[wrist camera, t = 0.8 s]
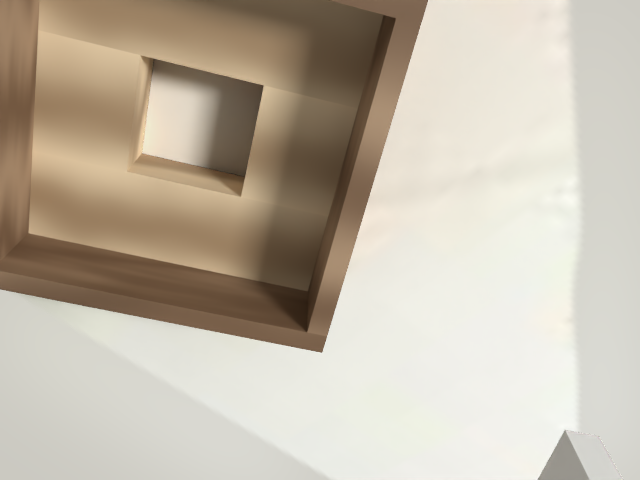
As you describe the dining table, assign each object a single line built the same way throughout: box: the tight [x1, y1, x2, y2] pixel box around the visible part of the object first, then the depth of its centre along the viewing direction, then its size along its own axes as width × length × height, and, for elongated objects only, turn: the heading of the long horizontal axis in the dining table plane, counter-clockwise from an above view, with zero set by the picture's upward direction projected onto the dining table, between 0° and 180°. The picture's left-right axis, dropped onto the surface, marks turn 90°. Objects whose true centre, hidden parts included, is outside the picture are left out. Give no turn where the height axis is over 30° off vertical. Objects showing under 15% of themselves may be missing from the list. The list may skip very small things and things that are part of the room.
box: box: [0, 0, 428, 353], centre depth 29 cm, size 17×17×7 cm
